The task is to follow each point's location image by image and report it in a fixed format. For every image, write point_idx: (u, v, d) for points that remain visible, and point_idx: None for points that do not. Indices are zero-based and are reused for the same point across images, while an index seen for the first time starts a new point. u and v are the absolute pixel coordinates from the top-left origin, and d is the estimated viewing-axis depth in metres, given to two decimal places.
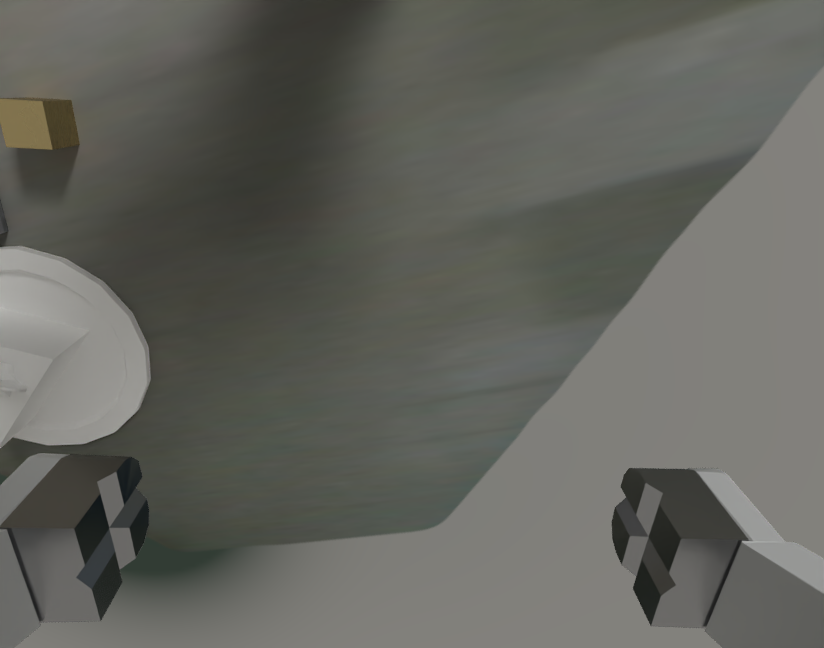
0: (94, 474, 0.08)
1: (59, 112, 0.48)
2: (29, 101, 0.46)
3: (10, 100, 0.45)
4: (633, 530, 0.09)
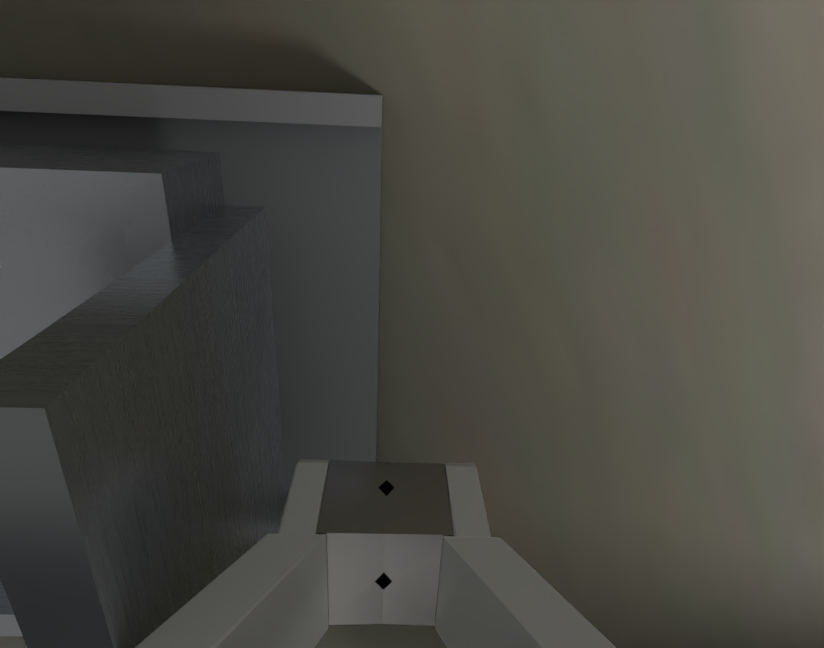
0: (370, 480, 0.08)
1: None
2: None
3: None
4: None
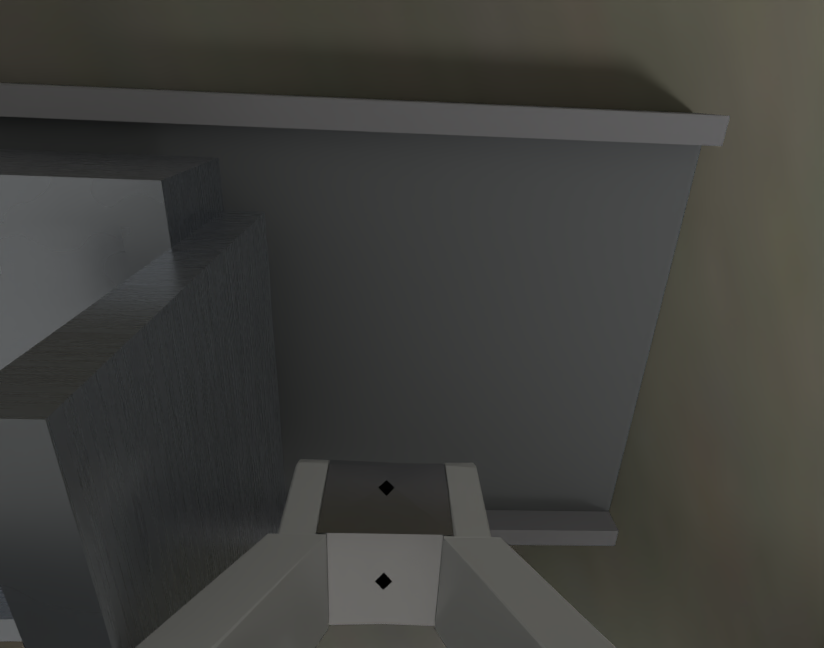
0: (371, 480, 0.08)
1: None
2: None
3: None
4: None
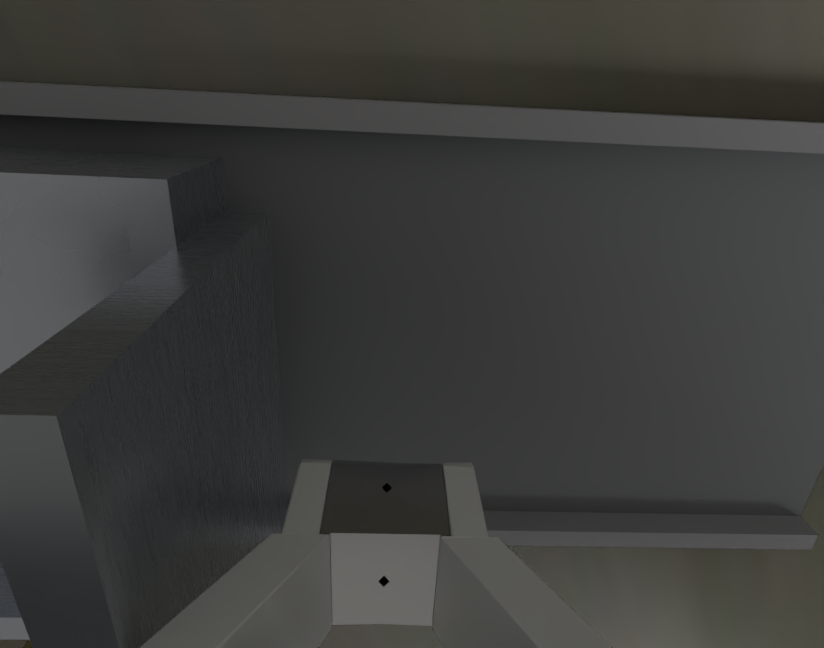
0: (374, 480, 0.08)
1: None
2: None
3: None
4: None
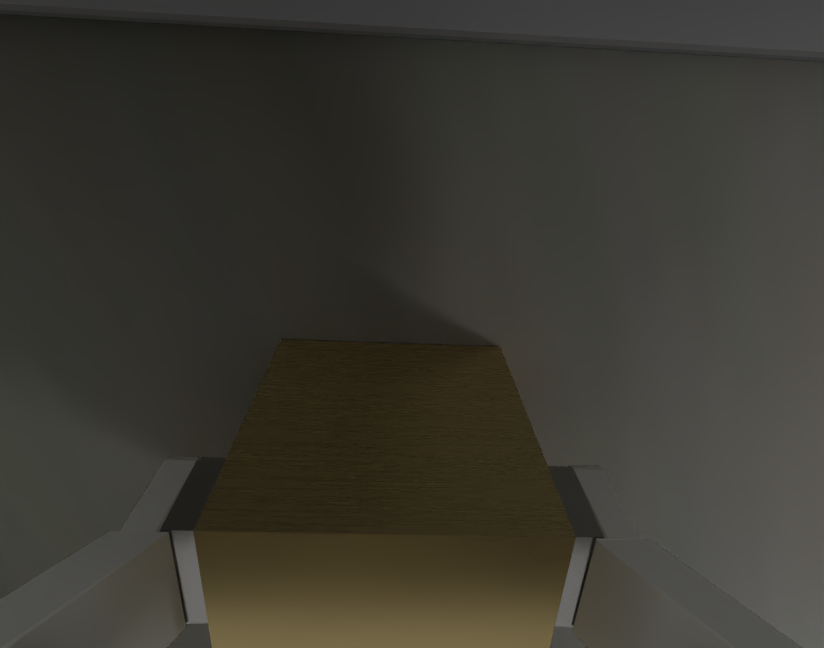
0: None
1: None
2: None
3: (548, 621, 0.06)
4: None
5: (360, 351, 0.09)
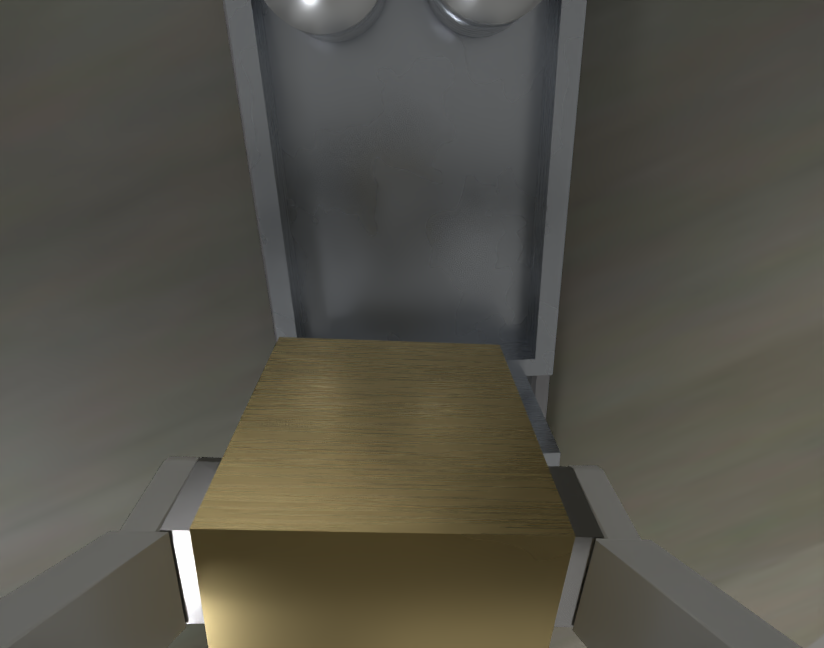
0: None
1: None
2: None
3: (547, 620, 0.06)
4: None
5: (359, 349, 0.09)
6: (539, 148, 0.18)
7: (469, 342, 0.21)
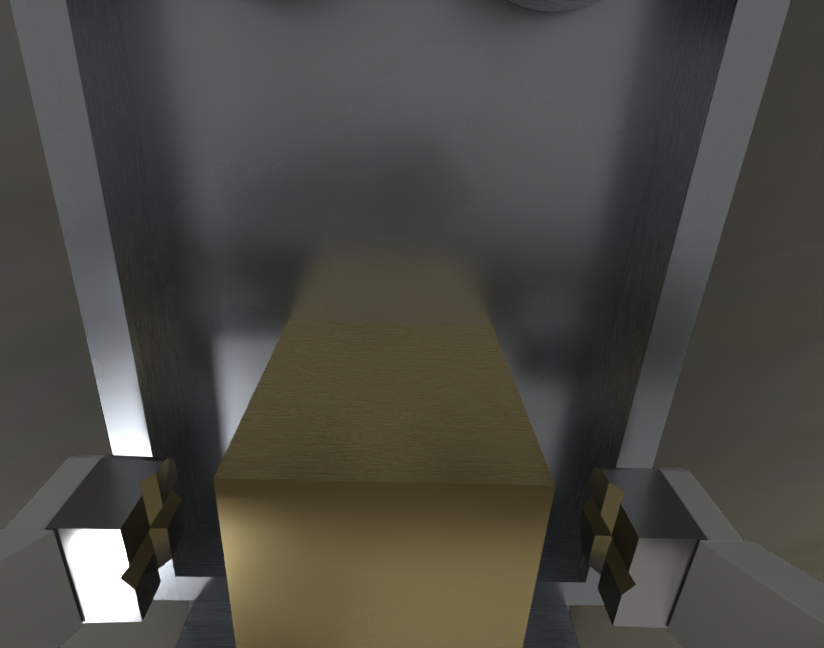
0: (134, 475, 0.08)
1: None
2: (516, 644, 0.07)
3: (532, 565, 0.07)
4: (598, 530, 0.09)
5: (362, 330, 0.10)
6: (635, 231, 0.09)
7: None
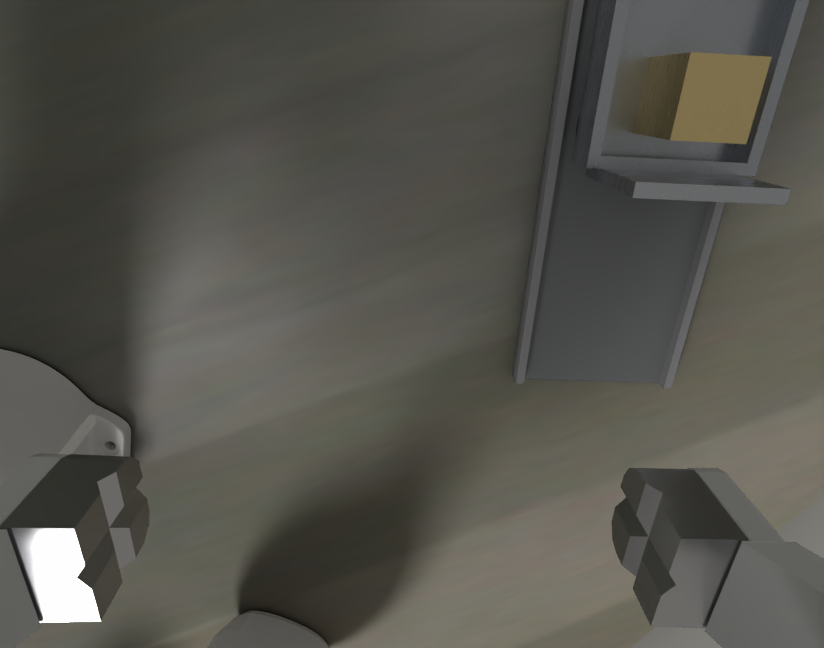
0: (94, 474, 0.08)
1: None
2: (751, 120, 0.27)
3: (761, 86, 0.26)
4: (633, 530, 0.09)
5: None
6: (773, 21, 0.29)
7: (696, 157, 0.32)
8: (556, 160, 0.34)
